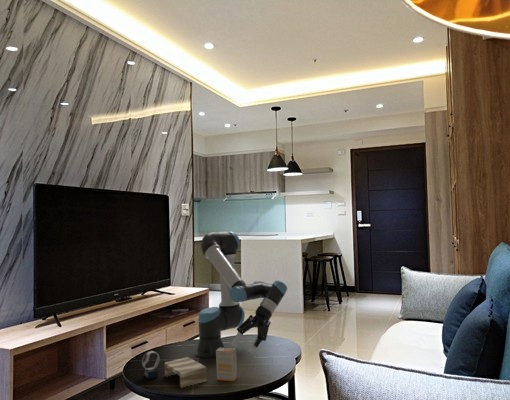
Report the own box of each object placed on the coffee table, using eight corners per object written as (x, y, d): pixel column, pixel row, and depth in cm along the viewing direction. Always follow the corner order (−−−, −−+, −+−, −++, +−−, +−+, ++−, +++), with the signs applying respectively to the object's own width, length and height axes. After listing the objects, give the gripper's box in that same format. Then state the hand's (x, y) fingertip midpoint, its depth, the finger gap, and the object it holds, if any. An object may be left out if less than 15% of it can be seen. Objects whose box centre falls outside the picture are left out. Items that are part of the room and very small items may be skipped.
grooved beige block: (164, 376, 183) (164, 362, 184) (188, 369, 190) (188, 356, 191) (181, 388, 169) (181, 373, 169) (206, 381, 176) (206, 367, 176)
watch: (140, 376, 184) (140, 352, 184) (157, 372, 188) (157, 348, 189) (144, 380, 179) (143, 355, 180) (161, 376, 183) (161, 351, 184)
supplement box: (237, 378, 178) (236, 348, 179) (233, 382, 174) (232, 351, 174) (220, 376, 181) (220, 346, 182) (216, 380, 176) (215, 350, 177)
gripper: (287, 318, 182) (263, 360, 172) (255, 310, 202) (231, 347, 192) (278, 309, 179) (252, 350, 169) (246, 301, 199) (221, 338, 189)
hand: (241, 349), depth 181 cm, fingers open, 13 cm apart
